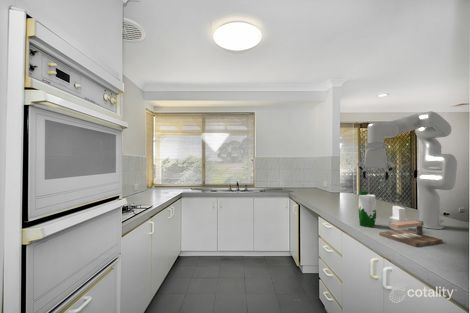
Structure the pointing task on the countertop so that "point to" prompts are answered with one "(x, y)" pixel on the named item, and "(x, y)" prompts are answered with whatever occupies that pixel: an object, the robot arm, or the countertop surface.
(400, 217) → the base with upright slab
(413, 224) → the swing arm
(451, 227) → the countertop surface
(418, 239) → the label board
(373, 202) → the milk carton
